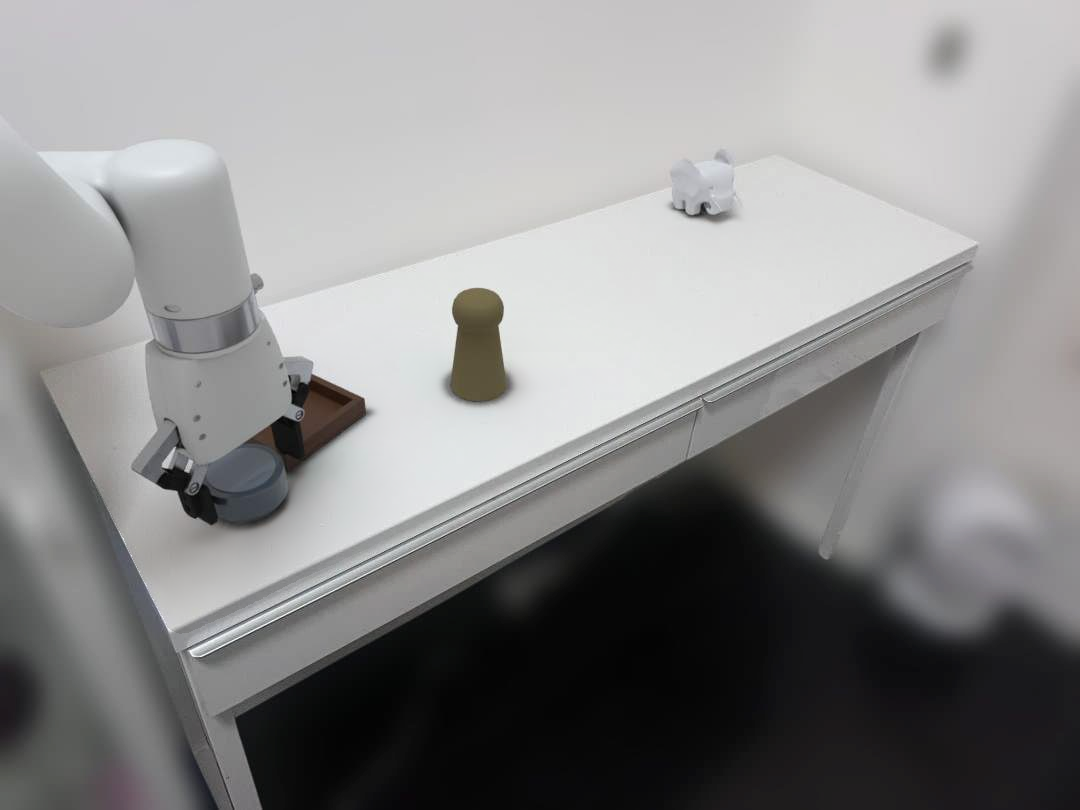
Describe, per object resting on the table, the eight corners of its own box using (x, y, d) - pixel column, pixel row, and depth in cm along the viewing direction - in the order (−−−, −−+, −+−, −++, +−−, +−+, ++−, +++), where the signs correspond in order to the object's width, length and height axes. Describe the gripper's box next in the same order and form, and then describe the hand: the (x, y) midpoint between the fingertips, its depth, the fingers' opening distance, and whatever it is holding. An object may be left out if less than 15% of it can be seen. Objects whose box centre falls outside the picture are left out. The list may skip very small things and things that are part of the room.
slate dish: (245, 543, 67) (236, 509, 65) (190, 508, 70) (179, 475, 68) (307, 495, 72) (301, 462, 70) (252, 464, 75) (245, 432, 73)
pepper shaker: (493, 363, 90) (493, 275, 83) (515, 393, 85) (518, 303, 79) (441, 375, 87) (438, 286, 81) (462, 407, 83) (460, 315, 76)
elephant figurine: (707, 232, 119) (717, 174, 113) (651, 203, 126) (659, 147, 121) (751, 218, 123) (763, 161, 118) (695, 190, 131) (704, 136, 125)
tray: (287, 471, 74) (284, 455, 73) (163, 403, 82) (158, 387, 80) (366, 413, 82) (364, 398, 80) (246, 356, 89) (242, 340, 88)
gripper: (259, 256, 67) (292, 416, 77) (64, 352, 55) (134, 526, 66) (326, 282, 64) (350, 445, 74) (134, 390, 52) (195, 566, 63)
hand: (249, 483), depth 70 cm, fingers open, 9 cm apart
